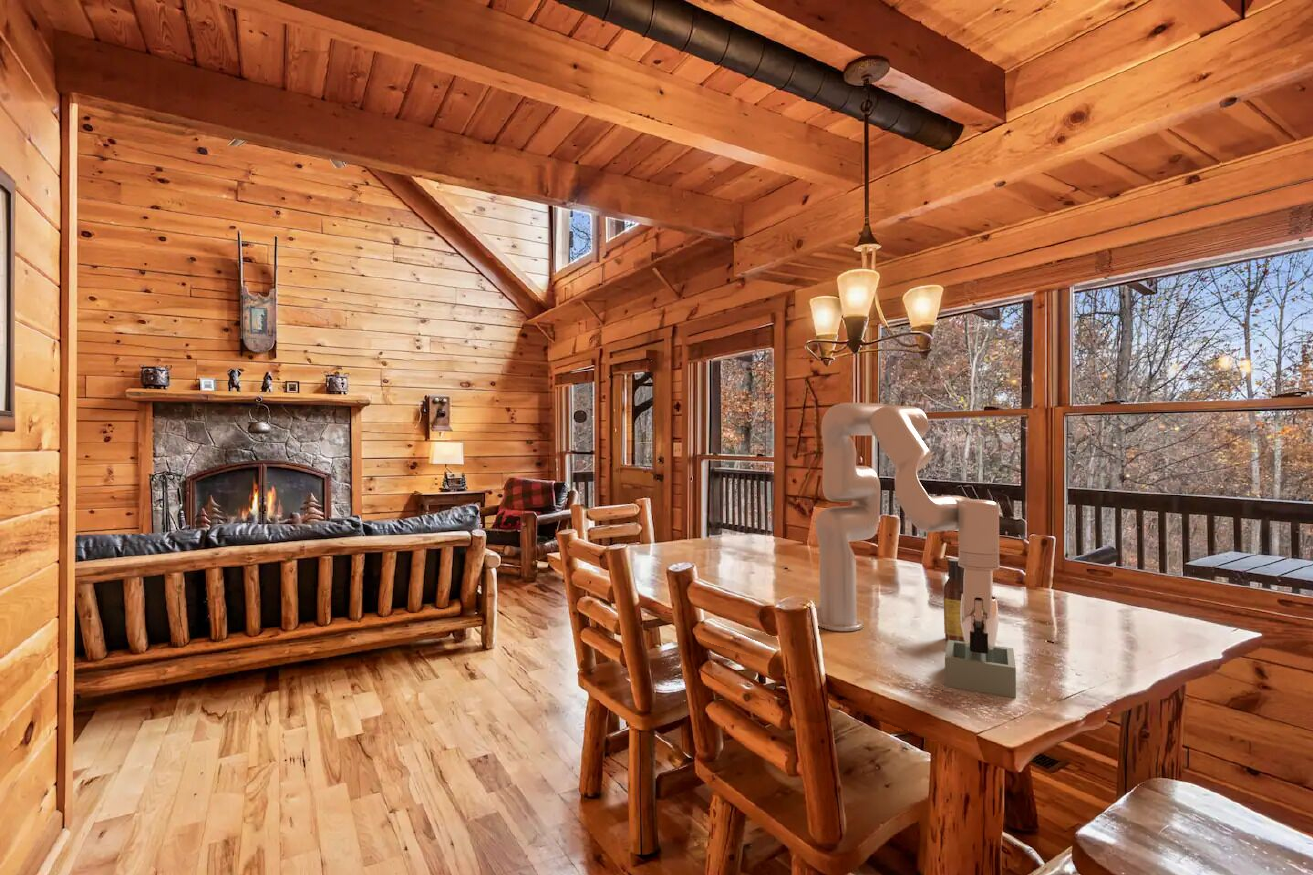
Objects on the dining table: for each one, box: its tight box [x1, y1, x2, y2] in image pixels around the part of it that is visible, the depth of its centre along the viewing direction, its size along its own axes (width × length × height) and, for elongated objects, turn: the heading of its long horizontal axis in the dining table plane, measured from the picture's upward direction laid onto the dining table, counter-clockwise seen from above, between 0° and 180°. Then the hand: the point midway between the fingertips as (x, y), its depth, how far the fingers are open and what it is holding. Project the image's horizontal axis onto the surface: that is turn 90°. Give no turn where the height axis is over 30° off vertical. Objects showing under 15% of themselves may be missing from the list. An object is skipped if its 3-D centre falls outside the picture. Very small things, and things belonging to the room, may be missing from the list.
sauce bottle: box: [943, 558, 964, 642], centre depth 154 cm, size 6×6×20 cm
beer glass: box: [960, 594, 999, 663], centre depth 128 cm, size 7×7×15 cm
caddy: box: [944, 640, 1017, 699], centre depth 128 cm, size 12×12×6 cm
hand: (979, 646), depth 128 cm, fingers closed on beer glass, 6 cm apart
